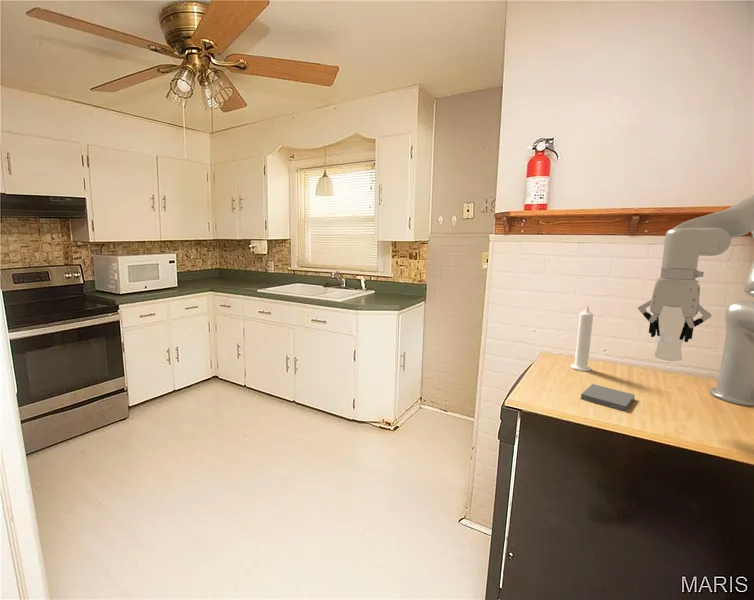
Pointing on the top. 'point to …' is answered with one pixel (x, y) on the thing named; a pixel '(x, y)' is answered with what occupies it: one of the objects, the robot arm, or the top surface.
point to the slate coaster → (608, 397)
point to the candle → (583, 341)
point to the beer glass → (670, 333)
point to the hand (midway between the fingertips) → (669, 338)
